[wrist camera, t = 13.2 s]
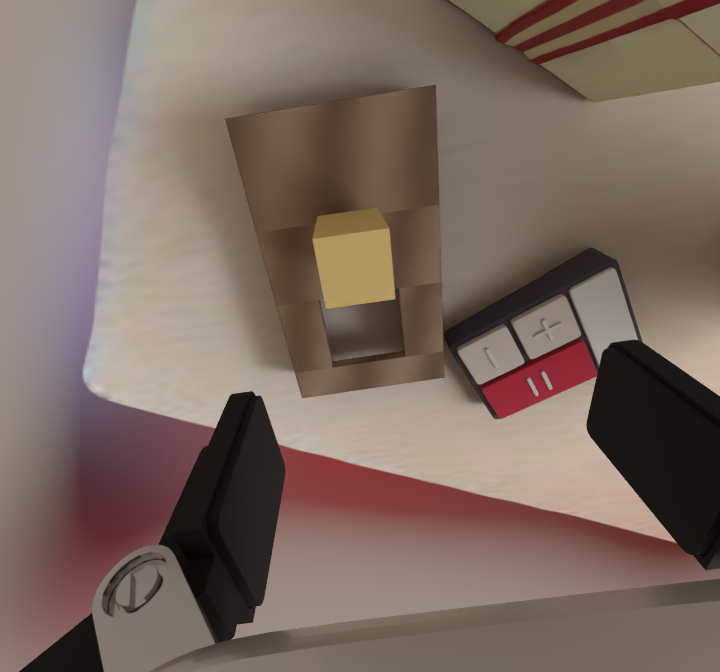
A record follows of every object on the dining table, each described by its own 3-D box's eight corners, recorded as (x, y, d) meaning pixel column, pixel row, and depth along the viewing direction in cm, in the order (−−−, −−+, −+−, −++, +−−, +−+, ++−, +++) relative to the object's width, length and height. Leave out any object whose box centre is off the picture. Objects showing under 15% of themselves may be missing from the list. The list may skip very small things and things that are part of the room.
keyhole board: (422, 91, 26) (435, 85, 22) (433, 354, 36) (444, 377, 33) (240, 120, 26) (225, 118, 22) (305, 372, 37) (302, 398, 33)
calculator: (449, 351, 32) (623, 260, 28) (440, 327, 36) (592, 244, 32) (497, 426, 37) (652, 358, 33) (484, 398, 41) (622, 334, 37)
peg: (376, 187, 29) (398, 216, 18) (382, 250, 31) (404, 305, 21) (313, 196, 29) (300, 230, 19) (324, 258, 31) (318, 317, 21)
